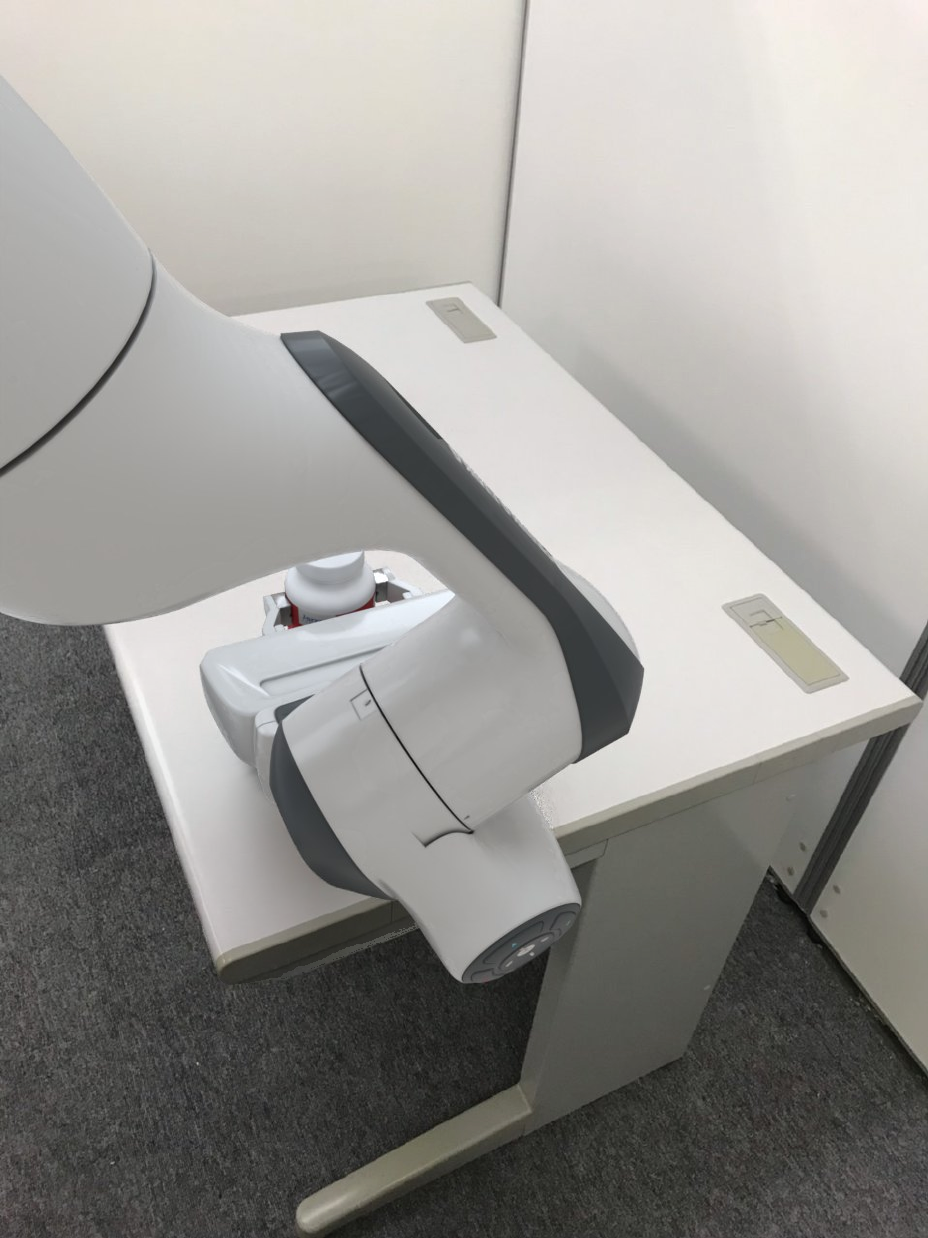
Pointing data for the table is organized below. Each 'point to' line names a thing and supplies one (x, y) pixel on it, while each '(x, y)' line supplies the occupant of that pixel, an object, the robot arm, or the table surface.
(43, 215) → the robot arm
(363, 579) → the pill bottle
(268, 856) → the table surface
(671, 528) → the table surface
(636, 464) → the table surface
